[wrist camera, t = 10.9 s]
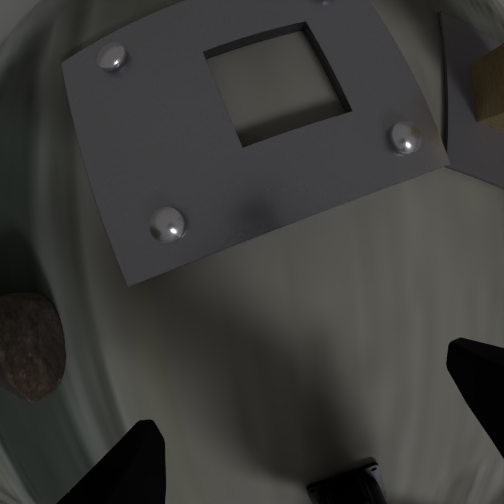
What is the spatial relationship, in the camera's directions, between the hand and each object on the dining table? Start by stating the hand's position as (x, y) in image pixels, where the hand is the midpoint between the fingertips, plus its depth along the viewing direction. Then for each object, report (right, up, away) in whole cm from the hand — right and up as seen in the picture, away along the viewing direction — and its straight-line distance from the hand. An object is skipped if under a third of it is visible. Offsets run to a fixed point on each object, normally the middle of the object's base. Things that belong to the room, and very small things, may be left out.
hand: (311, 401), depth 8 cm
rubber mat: (+18, +16, +10) cm, 26 cm away
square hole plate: (-2, +14, +10) cm, 17 cm away
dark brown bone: (-30, -2, +13) cm, 32 cm away
